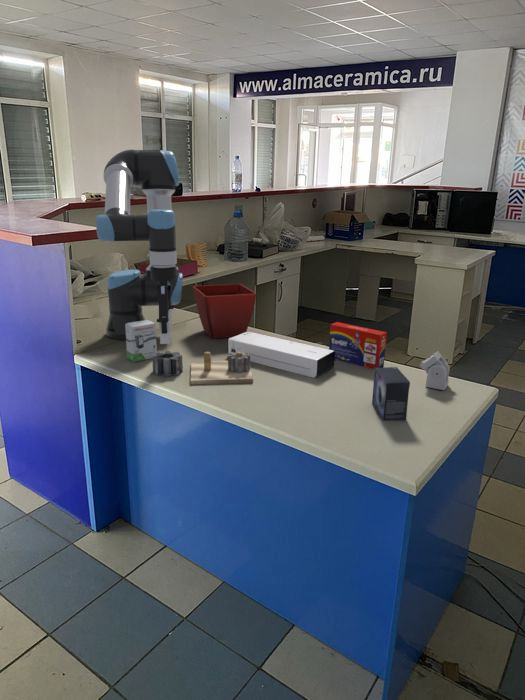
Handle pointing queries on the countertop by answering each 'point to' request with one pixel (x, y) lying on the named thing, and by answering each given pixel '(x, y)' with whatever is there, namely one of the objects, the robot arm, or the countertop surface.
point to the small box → (390, 393)
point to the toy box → (358, 345)
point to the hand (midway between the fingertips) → (166, 337)
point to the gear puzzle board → (222, 370)
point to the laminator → (283, 353)
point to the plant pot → (224, 308)
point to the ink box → (140, 340)
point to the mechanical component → (436, 371)
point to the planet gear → (167, 363)
